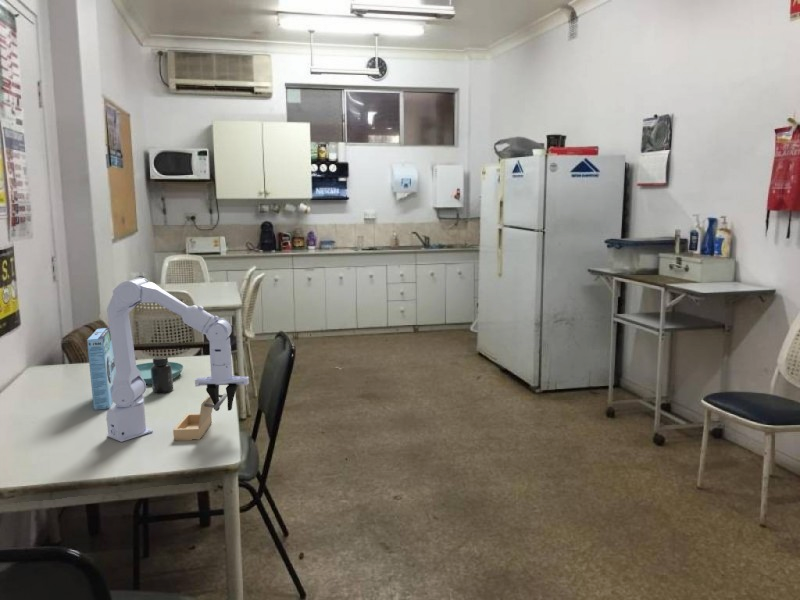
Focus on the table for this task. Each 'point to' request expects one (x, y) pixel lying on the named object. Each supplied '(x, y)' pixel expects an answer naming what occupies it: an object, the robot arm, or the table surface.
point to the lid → (209, 408)
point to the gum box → (101, 367)
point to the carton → (190, 428)
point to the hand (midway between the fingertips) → (223, 409)
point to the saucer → (146, 370)
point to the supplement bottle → (161, 375)
